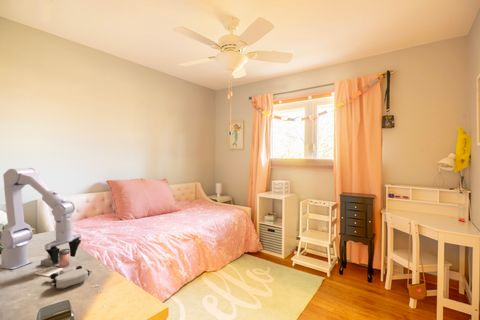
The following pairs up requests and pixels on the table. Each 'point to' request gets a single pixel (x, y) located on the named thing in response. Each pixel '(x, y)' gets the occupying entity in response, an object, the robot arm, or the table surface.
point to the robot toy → (69, 277)
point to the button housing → (48, 262)
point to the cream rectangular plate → (49, 271)
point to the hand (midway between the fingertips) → (64, 259)
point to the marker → (63, 258)
